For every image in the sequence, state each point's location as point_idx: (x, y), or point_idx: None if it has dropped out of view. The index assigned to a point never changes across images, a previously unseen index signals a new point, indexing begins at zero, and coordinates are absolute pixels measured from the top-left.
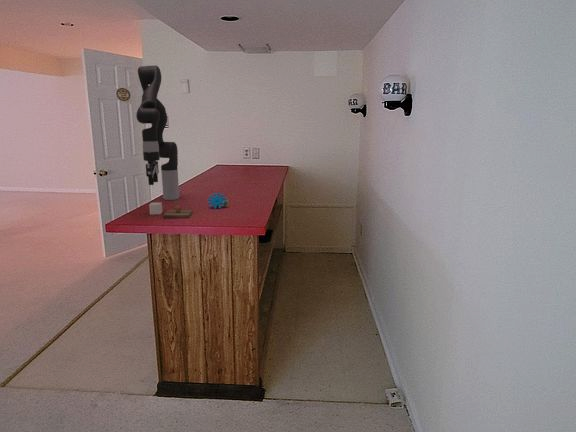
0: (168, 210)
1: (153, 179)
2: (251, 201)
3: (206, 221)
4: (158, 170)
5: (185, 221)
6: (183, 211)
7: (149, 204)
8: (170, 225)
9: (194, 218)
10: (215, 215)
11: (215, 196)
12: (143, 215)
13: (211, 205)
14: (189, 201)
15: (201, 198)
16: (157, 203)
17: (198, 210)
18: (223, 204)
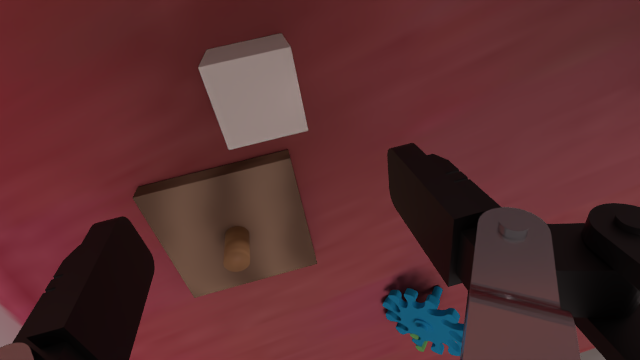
0: (269, 167)
1: (407, 171)
2: None
3: (164, 355)
4: (624, 329)
5: None
6: (261, 249)
7: (209, 65)
8: (16, 282)
9: (197, 305)
10: (270, 340)
11: (446, 330)
12: (164, 8)
13: (395, 299)
14: (575, 134)
15: (630, 163)
16: (266, 115)
17: (353, 258)
18: (402, 331)
